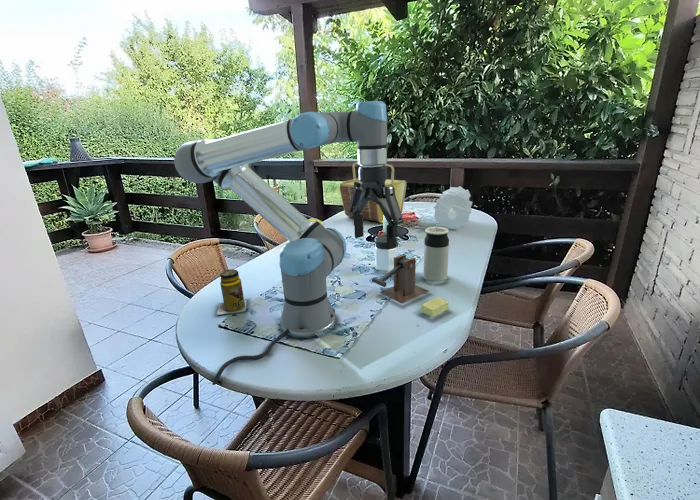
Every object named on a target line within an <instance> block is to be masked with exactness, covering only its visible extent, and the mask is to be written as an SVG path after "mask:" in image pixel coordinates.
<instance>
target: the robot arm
mask: <svg viewBox="0 0 700 500" xmlns="http://www.w3.org/2000/svg"><path fill="white" fill-rule="evenodd" d="M355 107H356V108H355V110H350V111H306V112H305V111H304V112H302V113H299V114H297V115H296V116H295V117H292V118H287V119H284V120H281V121H277V122H274V123H271V124H270V123H269V124H267V125H264V126H260V127H256V128H253V129H249V130H246V131H243V132H239V133H236V134H232V135H229V136H226V137H213V138H211V139H200V140H191V141H187V142H185V143H183V144H181V145H180V146H178V148H177V149H176V151H175V154H174V158H173V163H174V168H175V170H176V172H177V173H178V174H179V176H180V177H181V178H183V179H184V180H185V181H187V182H190V183H194V184H206V183H209V182H214V183H215V184H217V185H218V187H220V188H221V189H222V190H224V191H232V192H233V193H234V194H236V195H237V196H238V197H239V198H240V199H241V200H242V201H243V202H244V203H245V204H246V205H248V206H249V207H250V208H251V209H252V210H254V212H256V214H258V215H259V216H260V217H261V218H263V220H264V221H265V222H267V223H268V224H269V225H271V227H272V228H274V229H275V230H276V231H277V232H278V233H280V234H281V235H282V236H283V237H284V238H285V239H286V240H287V241H289V242H287V243H285V245H283V246H282V247H281V249H280V251H279V268H280V274H281V282H282V283H281V284H282V290H283V299H284V303H283V307H282V312H281V316H280V320H279V321H280V328H281V329H280V330H281V331H282V332H281V333H280V334H279V335H278V336H276V337H275V338H274V339H273V340H272V341H271V342H270V343H269V344H268V346H267V347H266V349H265V350H264V351H263V352H262V353H259V354H257V355H256V354H255V355H237V356H235V357H233V358H231V359H229V360H227V361H226V362H224V363H223V364H222V365H221V366H220V367H219V369H218V371H217V372H216V374H215V376H214V378H213V381H212V383H211V385H212V386H215V385H217V384H218V382H219V380H220V378H221V375H222V374H223V372H224V370H225V369H226V368H228V366H230V365H232V364H234V363H237V362H239V361H256V360H260V359H263V358H265V357H266V356H268V355H269V353H270V351H271V350H272V348H273V347H274V346H275V345H276V344H277V343H278V342H279V341H280V340H281V339H283V338H284V337H286V336H289V337H291V338H295V339H312V338H317V337H318V335H317V334H319V333H322V332H324V331H327V330H328V329H329V328H331V327H332V326H333V325H334V323H335V322H336V309H335V308H334V307H333V305H332V304H331V302H330V299H329V297H328V290H327V287H328V286H327V277H328V276H329V275H331V274H332V272H333V271H334V270H335V269H336V268H338V267H339V265H340V264H341V263H342V261H343V260H344V258H345V257H346V254H347V243H346V239H345V237H344V235H343V234H342V233H341V232H340V231H338V230H337V229H336V228H333V227H326V226H325V225H324V226H325V227H324V226H322V225H321V224H320V223H319V222H318V221H309V220H308V219H309V218H307V217H306V216H305V215H303V213H301V212H300V211H299V210H298V209H297V208H296V207H295V206H294V205H293V204H291V203H290V202H289V201H288V200H287V199H285V198H284V197H283V196H282V195H281V194H280V193H279V192H277V191H276V189H274V188H273V187H272V186H271V185H269V183H267V182H266V181H265V180H264V179H263V177H260V175H258V174H257V172H255V171H254V170H252V164H254V163H258V162H262V161H265V160H269V159H273V158H276V157H281V156H286V155H289V154H293V153H297V152H301V151H305V150H310V149H314V148H319V147H322V146H327V145H331V144H337V143H356V142H357V143H356V144H357V162H358V164H357V165H359V167H358V178H359V180H360V181H357V182H354V190H353V193H352V197H351V200H350V204H349V207H348V212H351V213H352V215H353V217H352V219H353V220H352V221H353V227H354V228H353V229H354V238H355V239H360V238H363V237H364V233H365V231H364V219H363V215H360V214H362V210H363V209H364V207H365V206H366V204H367V202H368V201H369V200H371V201H373V202H376V204H378V205H379V207H380V208H381V210H382V212H383V214H384V216H385V218H386V220H387V222H386V223H387V225H386V236H387V249H388V250H390V249H393V248H396V238H397V237H398V226H399V225H401V224H403V223H404V221H405V219H404V217H403V213H402V214H401V211H400V208H399V205H398V202H397V199H396V196H395V188H394V186H389V187H386V186H385V181H386V180H387V179H388V166H386V165H385V164H388V117H387V105H386V103H385V102H384V101H381V100H370V101H359V102H357V103H356V105H355ZM382 198H383V199H382ZM353 206H354V207H353Z"/></svg>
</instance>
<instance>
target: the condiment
mask: <svg viewBox="0 0 700 500" xmlns="http://www.w3.org/2000/svg"><path fill="white" fill-rule="evenodd" d="M219 276H220V283H219V284H220V289H221V295H222V301H223V302H220V303H218V307H217V312H216V316H219V315H227V314H235V313H243V312H246V311H247V299H245V297H244V291H243V285H242V279H241V278H240V274H239V271H238V270H237V269H233V268H231V269H225V270H223V271H221V272H220V274H219Z"/></svg>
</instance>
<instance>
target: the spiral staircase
mask: <svg viewBox="0 0 700 500" xmlns="http://www.w3.org/2000/svg"><path fill="white" fill-rule="evenodd" d="M471 196H472V195H471V192H470V191H469V189H465V188H463V187H462V186H461V185H459V186H458V187H455V186H450V187H449V189H446V190H444V191H442V193H441V195H440V196H439V198H438V200H437V201H436V202H435V206H433V209H434V215H433V217H434V218H435V222H436V223H438V224H439V225H440V226H441V227H443V228H447V229H451V230H454V229H459V228H463V227H464V225H465V224H466V223H468V222H469V221H470V215H471V213H472V211H473V210H472V205H473V203H474V202H473V201H471V200H470V198H471Z"/></svg>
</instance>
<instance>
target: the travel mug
mask: <svg viewBox="0 0 700 500" xmlns="http://www.w3.org/2000/svg"><path fill="white" fill-rule="evenodd" d="M424 231H425V233H426V235H425V237H424V241H423V273H422V274H423V275H422V277H423V278H424V279H425V280H426V281H430V282H438V283H439V282H444V281H446V280H447V279H448V271H449V269H448V268H449V249H450V239H449V236H448V233H449V232H450V231H449V228H447V227H444V228H443V226H429V227H427V228H425V230H424Z"/></svg>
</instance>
